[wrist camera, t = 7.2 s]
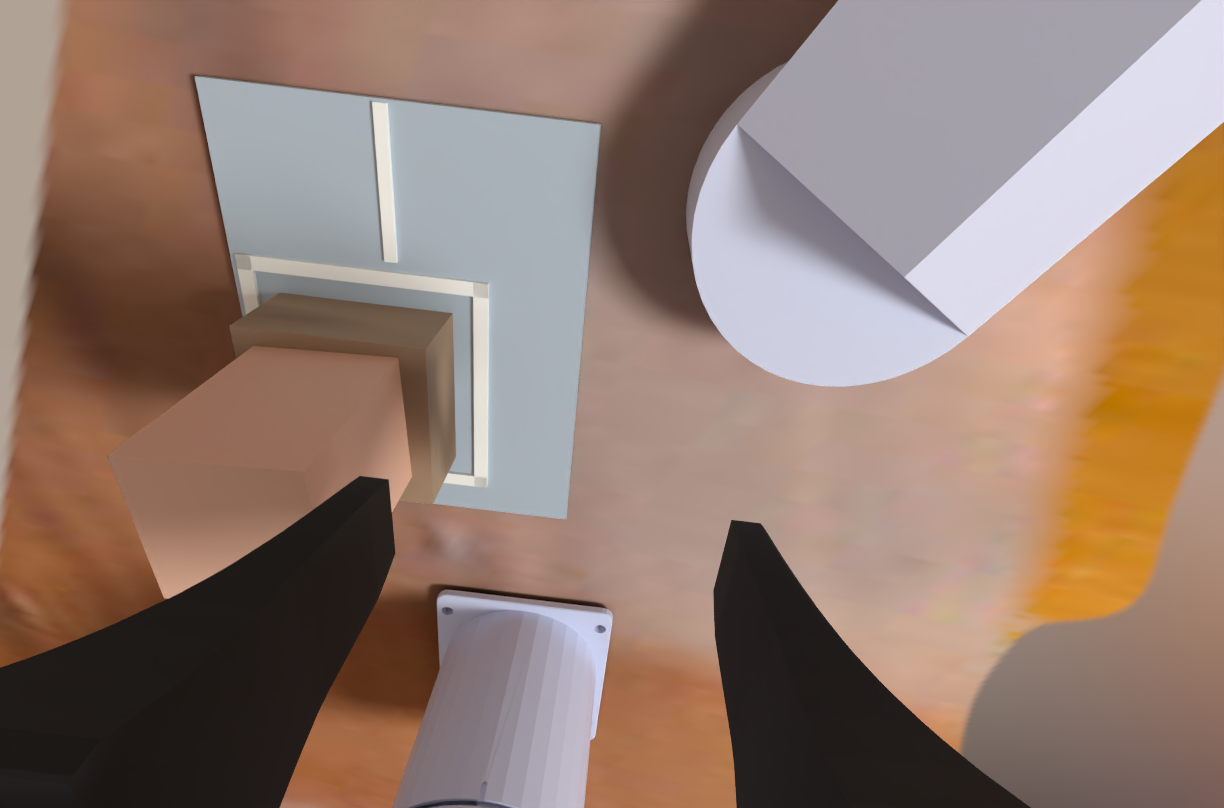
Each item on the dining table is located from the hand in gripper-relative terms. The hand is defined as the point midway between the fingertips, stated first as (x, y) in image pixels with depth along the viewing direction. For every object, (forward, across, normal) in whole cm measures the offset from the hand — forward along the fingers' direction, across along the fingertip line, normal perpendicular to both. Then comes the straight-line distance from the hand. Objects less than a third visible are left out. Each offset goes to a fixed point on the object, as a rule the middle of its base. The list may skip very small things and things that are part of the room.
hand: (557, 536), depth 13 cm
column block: (+7, +8, +2) cm, 11 cm away
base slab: (+10, +8, +2) cm, 13 cm away
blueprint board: (+10, +6, 0) cm, 12 cm away
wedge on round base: (+11, -8, -7) cm, 15 cm away
